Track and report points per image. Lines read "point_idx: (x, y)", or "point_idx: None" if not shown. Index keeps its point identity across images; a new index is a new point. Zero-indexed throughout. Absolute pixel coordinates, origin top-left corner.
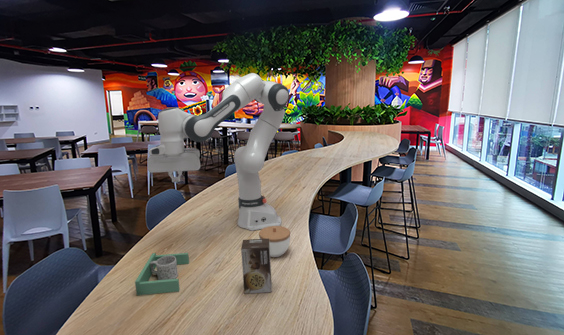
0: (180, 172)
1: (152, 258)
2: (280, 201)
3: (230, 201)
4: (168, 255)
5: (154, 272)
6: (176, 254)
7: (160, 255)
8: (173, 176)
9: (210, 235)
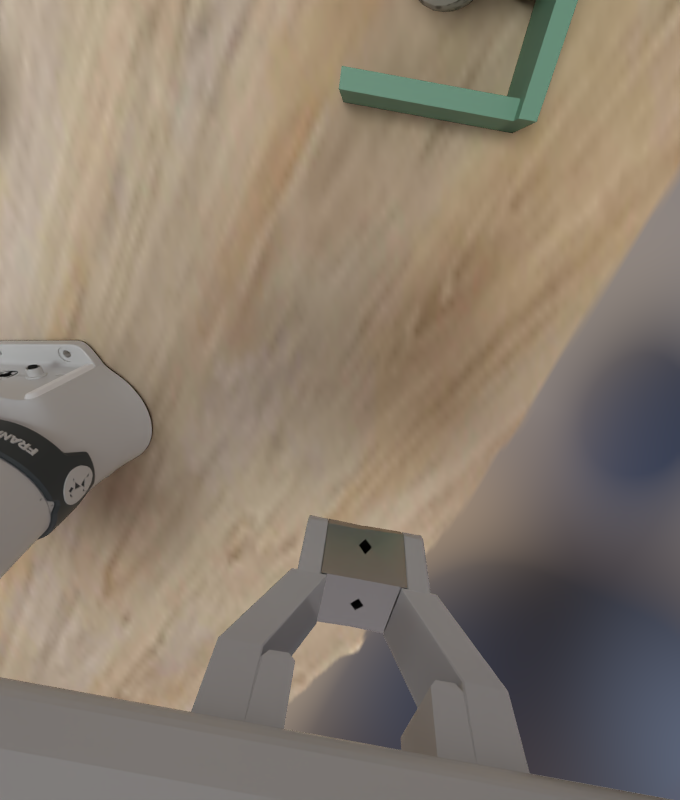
0: (221, 678)
1: (544, 35)
2: None
3: (202, 607)
4: (447, 90)
5: None
6: (403, 87)
7: (490, 107)
8: (397, 641)
9: (257, 358)
